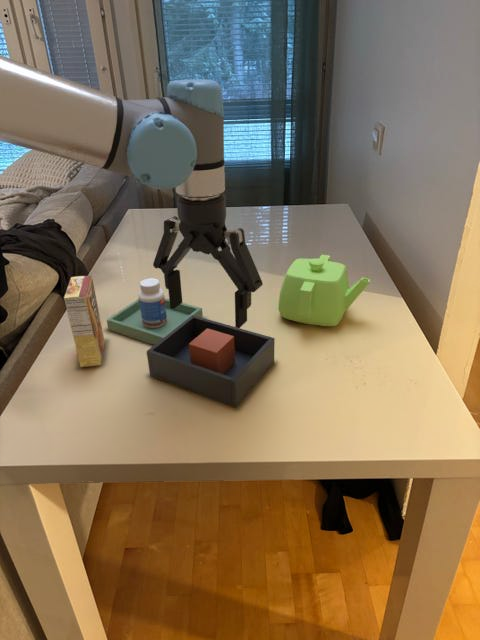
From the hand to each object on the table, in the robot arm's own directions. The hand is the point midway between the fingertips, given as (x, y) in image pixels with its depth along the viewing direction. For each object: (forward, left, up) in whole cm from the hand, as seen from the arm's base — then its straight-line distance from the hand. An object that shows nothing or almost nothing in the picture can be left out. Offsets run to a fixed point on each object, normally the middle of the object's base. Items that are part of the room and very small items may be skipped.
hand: (207, 314), depth 82 cm
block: (0, 0, -12) cm, 12 cm away
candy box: (-24, -7, -12) cm, 28 cm away
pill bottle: (-20, +8, -12) cm, 24 cm away
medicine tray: (-20, +8, -12) cm, 25 cm away
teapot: (+11, +28, -12) cm, 33 cm away
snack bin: (0, 0, -12) cm, 12 cm away
